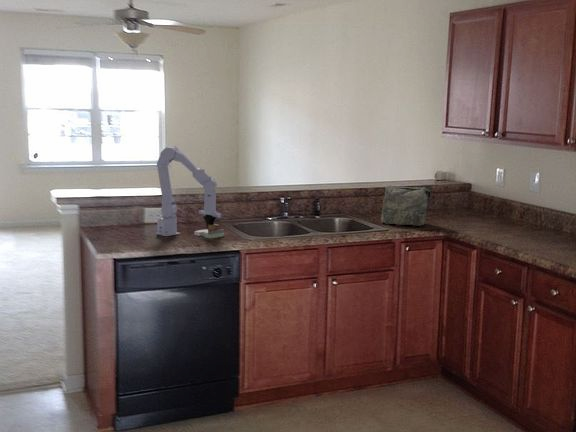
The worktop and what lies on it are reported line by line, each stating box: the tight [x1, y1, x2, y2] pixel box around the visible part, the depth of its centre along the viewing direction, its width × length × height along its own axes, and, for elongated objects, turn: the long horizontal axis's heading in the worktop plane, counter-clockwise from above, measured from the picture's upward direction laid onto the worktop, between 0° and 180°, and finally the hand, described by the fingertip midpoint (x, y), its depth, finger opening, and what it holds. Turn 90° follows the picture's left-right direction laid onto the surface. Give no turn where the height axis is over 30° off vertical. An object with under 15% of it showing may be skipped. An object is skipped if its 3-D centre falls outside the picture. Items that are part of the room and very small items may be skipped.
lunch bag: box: [380, 185, 431, 227], centre depth 384 cm, size 26×18×22 cm
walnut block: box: [208, 223, 221, 233], centre depth 333 cm, size 4×4×4 cm
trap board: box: [194, 228, 225, 240], centre depth 336 cm, size 9×12×4 cm
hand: (209, 230), depth 336 cm, fingers closed
